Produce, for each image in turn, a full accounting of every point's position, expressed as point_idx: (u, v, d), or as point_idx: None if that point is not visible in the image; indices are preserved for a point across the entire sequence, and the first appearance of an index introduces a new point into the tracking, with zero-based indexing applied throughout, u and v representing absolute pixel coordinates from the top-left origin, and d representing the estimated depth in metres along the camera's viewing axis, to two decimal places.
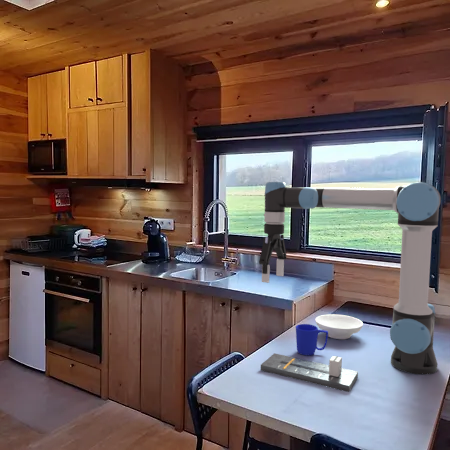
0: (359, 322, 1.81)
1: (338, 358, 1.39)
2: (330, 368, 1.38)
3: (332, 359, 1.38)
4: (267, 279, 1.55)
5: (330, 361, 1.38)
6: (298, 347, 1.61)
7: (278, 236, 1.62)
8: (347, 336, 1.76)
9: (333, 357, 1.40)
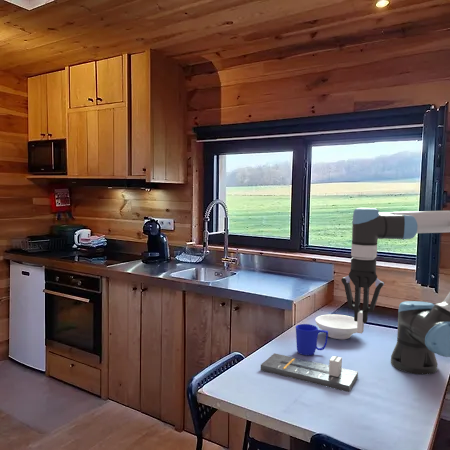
0: None
1: (338, 358, 1.39)
2: (330, 368, 1.38)
3: (332, 359, 1.38)
4: None
5: (330, 361, 1.38)
6: (298, 347, 1.61)
7: (370, 273, 1.31)
8: (347, 336, 1.76)
9: (333, 357, 1.40)
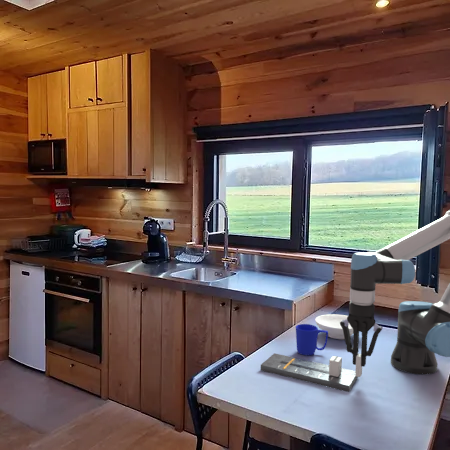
0: None
1: (338, 358, 1.39)
2: (330, 368, 1.38)
3: (332, 359, 1.38)
4: None
5: (330, 361, 1.38)
6: (298, 347, 1.61)
7: (368, 318, 1.32)
8: None
9: (333, 357, 1.40)
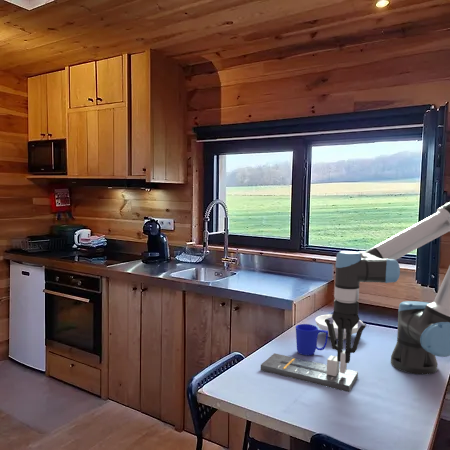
0: None
1: (336, 358, 1.40)
2: (328, 368, 1.38)
3: (330, 359, 1.39)
4: None
5: (328, 361, 1.38)
6: (298, 347, 1.61)
7: (352, 315, 1.34)
8: None
9: (331, 357, 1.40)
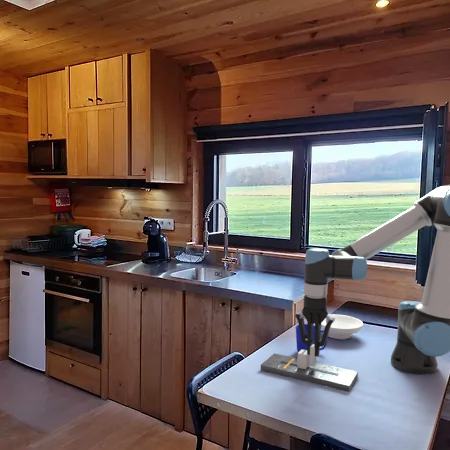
0: (359, 322, 1.81)
1: (306, 351, 1.45)
2: (298, 361, 1.43)
3: (300, 352, 1.44)
4: None
5: (298, 354, 1.43)
6: (298, 347, 1.61)
7: (321, 310, 1.39)
8: (347, 336, 1.76)
9: (302, 350, 1.45)
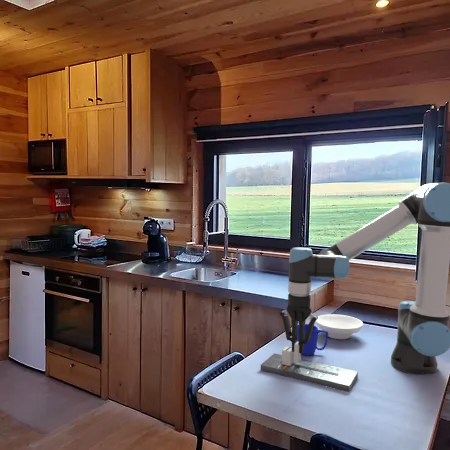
0: (359, 322, 1.81)
1: (291, 348, 1.47)
2: (283, 357, 1.46)
3: (285, 349, 1.46)
4: None
5: (283, 351, 1.46)
6: None
7: (305, 308, 1.42)
8: (347, 336, 1.76)
9: (286, 347, 1.48)
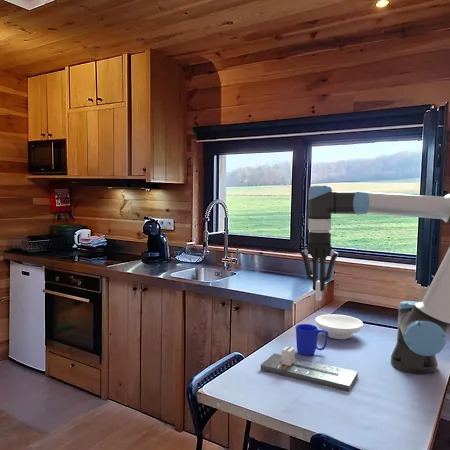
0: (359, 322, 1.81)
1: (291, 348, 1.47)
2: (283, 357, 1.46)
3: (285, 349, 1.46)
4: None
5: (283, 351, 1.46)
6: (298, 347, 1.61)
7: (325, 245, 1.42)
8: (347, 336, 1.76)
9: (286, 347, 1.48)
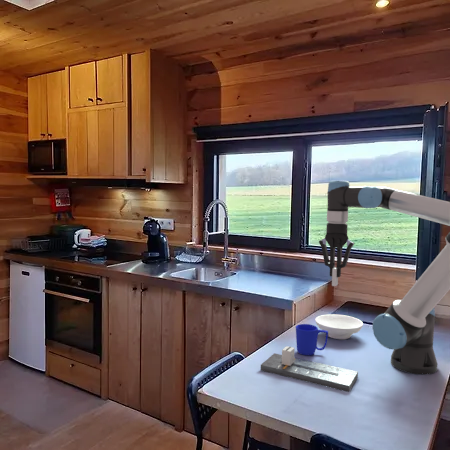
0: (359, 322, 1.81)
1: (291, 348, 1.47)
2: (283, 357, 1.46)
3: (285, 349, 1.46)
4: None
5: (283, 351, 1.46)
6: (298, 347, 1.61)
7: (342, 235, 1.56)
8: (347, 336, 1.76)
9: (286, 347, 1.48)
